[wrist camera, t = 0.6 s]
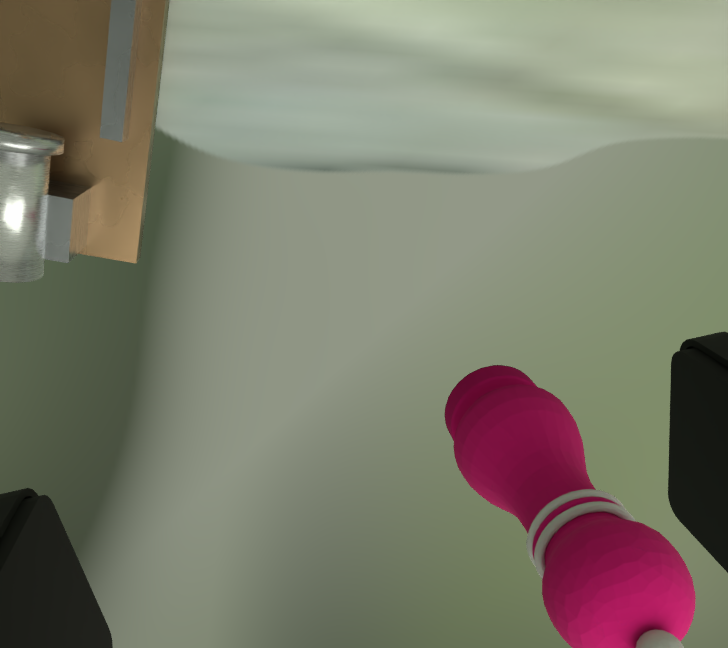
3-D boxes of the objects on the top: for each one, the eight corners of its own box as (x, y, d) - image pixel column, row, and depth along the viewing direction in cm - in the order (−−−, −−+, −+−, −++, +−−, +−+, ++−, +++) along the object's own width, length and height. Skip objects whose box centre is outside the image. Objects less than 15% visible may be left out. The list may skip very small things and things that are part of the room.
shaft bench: (-63, -270, 26) (-161, -373, 20) (190, -188, 28) (171, -259, 22) (-65, 229, 32) (-138, 263, 26) (139, 264, 35) (114, 303, 29)
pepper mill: (413, 417, 41) (539, 701, 22) (492, 335, 39) (695, 564, 21) (489, 473, 43) (658, 771, 25) (565, 398, 42) (804, 653, 23)
